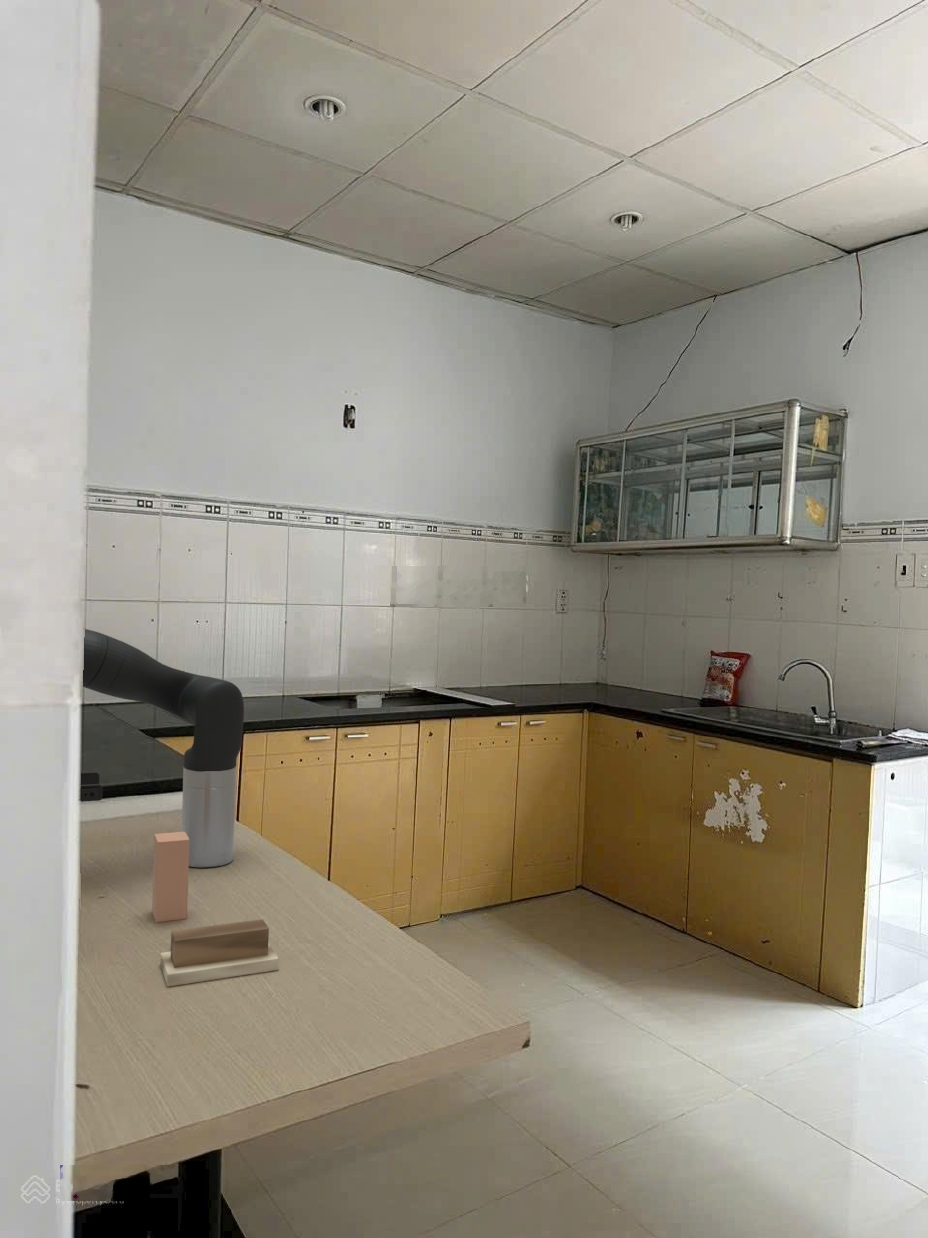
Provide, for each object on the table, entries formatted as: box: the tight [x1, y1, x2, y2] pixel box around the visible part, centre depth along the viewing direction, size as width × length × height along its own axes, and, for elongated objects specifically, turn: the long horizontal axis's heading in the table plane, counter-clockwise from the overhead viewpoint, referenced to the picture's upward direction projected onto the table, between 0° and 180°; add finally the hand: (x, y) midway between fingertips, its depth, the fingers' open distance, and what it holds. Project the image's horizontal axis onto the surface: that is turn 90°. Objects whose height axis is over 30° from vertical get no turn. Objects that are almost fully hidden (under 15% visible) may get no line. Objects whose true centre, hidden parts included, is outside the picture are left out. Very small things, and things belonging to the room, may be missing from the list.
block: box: [151, 831, 190, 923], centre depth 133 cm, size 4×4×12 cm
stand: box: [160, 918, 280, 987], centre depth 117 cm, size 7×14×5 cm, turn 116°
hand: (100, 785), depth 128 cm, fingers open, 8 cm apart
